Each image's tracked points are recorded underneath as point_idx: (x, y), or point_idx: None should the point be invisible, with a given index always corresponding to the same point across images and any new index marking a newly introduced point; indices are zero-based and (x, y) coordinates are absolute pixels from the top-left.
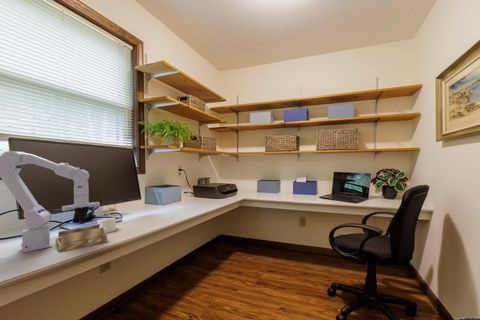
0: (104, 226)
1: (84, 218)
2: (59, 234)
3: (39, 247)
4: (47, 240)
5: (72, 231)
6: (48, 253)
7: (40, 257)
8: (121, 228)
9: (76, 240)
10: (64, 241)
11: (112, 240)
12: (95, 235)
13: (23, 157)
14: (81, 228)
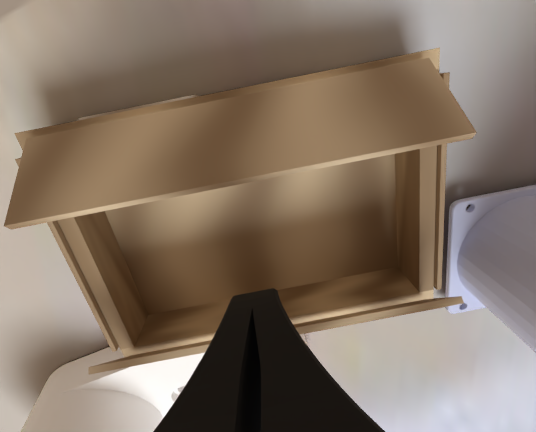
0: (97, 408)
1: (211, 351)
2: (433, 299)
3: (528, 198)
4: (505, 242)
5: (337, 318)
6: (470, 88)
7: (528, 16)
8: (6, 400)
9: (297, 84)
10: (408, 75)
11: (7, 133)
12: (116, 130)
13: None
14: None
